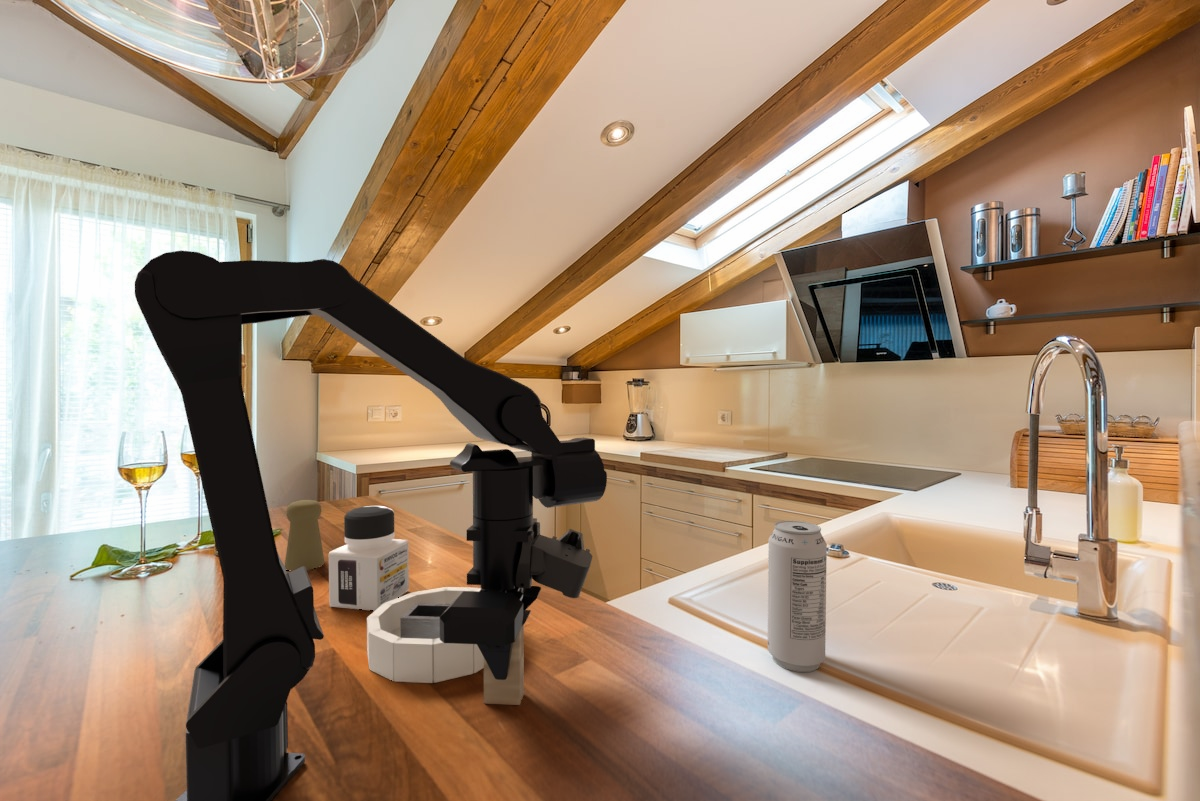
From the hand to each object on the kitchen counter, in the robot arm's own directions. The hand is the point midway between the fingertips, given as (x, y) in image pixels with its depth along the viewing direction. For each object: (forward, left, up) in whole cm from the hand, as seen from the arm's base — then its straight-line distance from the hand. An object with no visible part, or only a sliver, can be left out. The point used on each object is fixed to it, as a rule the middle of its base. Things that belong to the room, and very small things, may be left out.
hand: (503, 673), depth 53 cm
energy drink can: (+10, -31, -3) cm, 32 cm away
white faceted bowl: (+10, +10, -2) cm, 14 cm away
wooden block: (0, 0, -2) cm, 2 cm away
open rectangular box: (+10, +10, -2) cm, 14 cm away
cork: (+36, +43, -3) cm, 56 cm away
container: (+23, +25, -3) cm, 34 cm away
